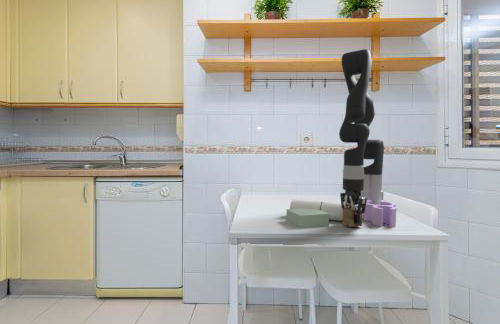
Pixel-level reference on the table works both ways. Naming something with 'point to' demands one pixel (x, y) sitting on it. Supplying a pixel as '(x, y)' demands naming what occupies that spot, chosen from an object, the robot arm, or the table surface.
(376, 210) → the clip
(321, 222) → the green box
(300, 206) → the cylindrical container
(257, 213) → the table surface
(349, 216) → the walnut block
